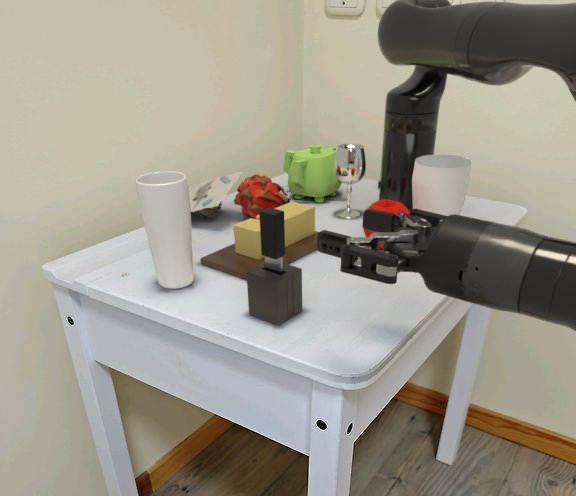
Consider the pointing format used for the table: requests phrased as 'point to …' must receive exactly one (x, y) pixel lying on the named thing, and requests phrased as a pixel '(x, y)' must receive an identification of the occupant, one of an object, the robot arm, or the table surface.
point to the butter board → (241, 264)
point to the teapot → (312, 172)
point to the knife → (272, 239)
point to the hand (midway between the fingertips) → (342, 228)
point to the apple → (386, 206)
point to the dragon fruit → (259, 195)
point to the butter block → (297, 221)
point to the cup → (440, 183)
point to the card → (210, 194)
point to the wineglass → (349, 171)
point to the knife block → (274, 293)
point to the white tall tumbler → (167, 225)
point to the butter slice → (248, 238)
